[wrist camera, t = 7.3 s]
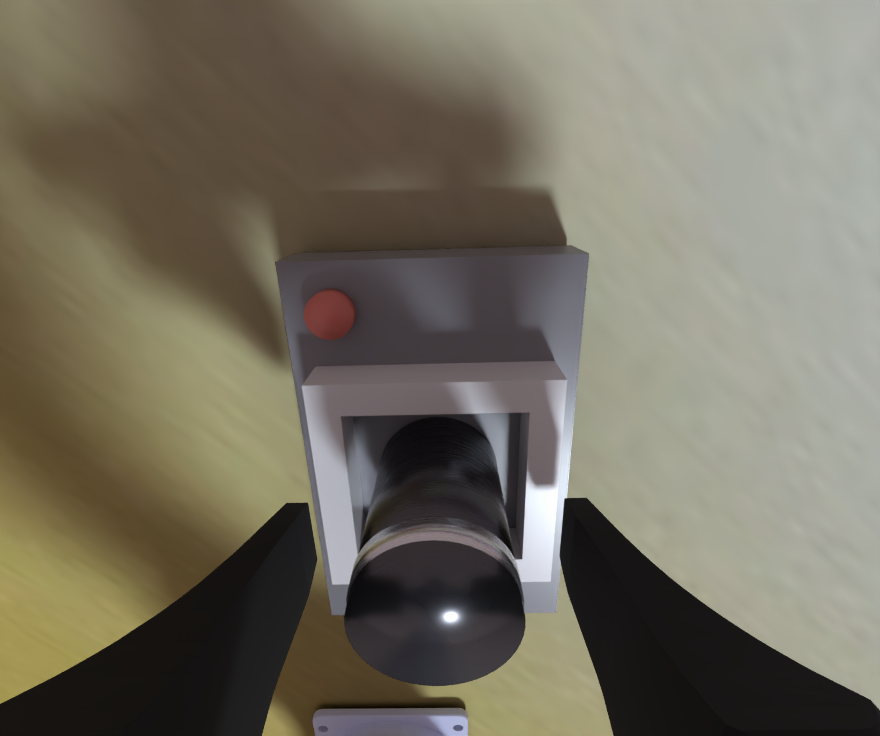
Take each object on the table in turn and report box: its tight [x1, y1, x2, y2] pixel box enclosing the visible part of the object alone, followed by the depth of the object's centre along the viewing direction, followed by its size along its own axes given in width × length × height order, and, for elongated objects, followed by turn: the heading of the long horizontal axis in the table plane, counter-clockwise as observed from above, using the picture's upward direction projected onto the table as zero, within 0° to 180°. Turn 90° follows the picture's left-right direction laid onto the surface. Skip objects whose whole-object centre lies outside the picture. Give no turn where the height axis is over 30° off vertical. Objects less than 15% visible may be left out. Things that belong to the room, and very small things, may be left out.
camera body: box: [275, 245, 589, 615], centre depth 16 cm, size 14×9×4 cm, turn 1°
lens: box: [344, 417, 525, 686], centre depth 13 cm, size 4×4×6 cm
